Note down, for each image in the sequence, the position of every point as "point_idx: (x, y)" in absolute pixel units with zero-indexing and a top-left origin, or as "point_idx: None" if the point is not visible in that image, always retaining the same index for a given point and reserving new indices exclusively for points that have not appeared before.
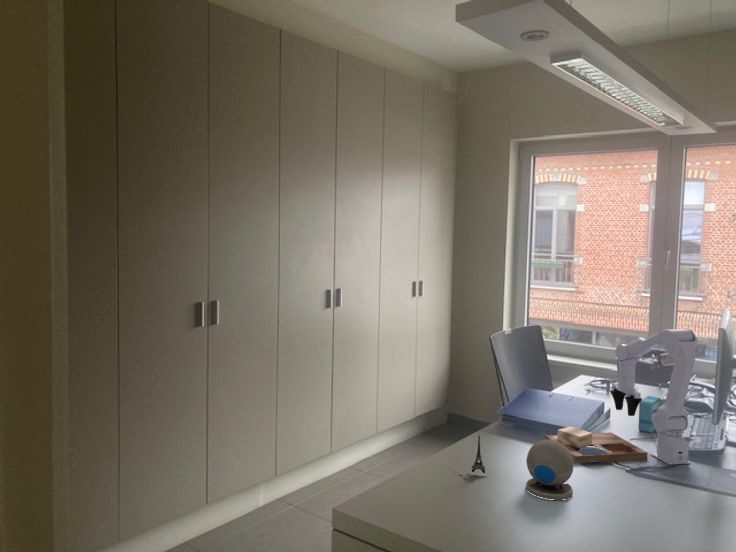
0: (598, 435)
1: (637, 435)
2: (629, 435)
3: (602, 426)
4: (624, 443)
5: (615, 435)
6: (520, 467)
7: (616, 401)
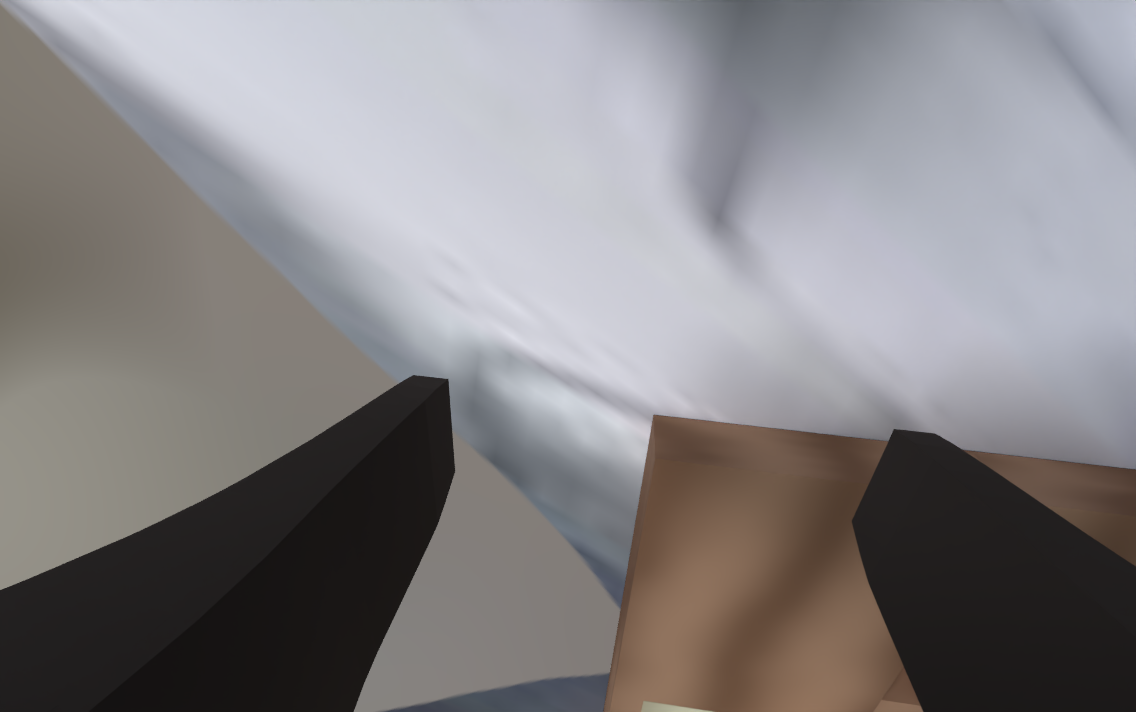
0: (697, 595)
1: (619, 16)
2: (594, 139)
3: (256, 238)
4: None
5: (754, 481)
6: None
7: (365, 653)
